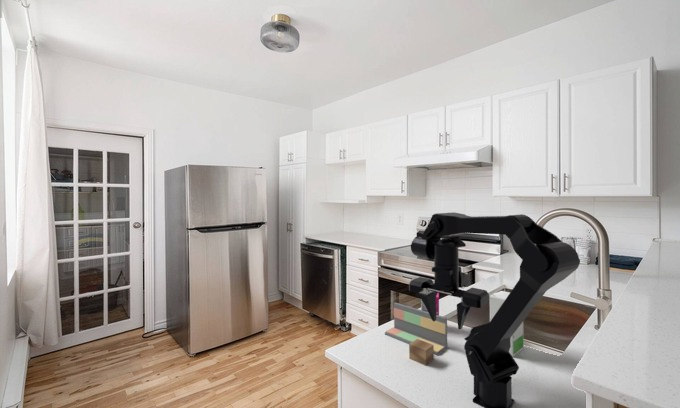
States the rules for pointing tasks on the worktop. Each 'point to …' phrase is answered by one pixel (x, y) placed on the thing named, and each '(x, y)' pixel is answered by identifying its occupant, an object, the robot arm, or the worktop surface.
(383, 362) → the worktop surface
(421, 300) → the supplement box
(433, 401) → the worktop surface
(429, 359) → the block
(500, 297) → the skincare box
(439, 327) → the tuner gauge
